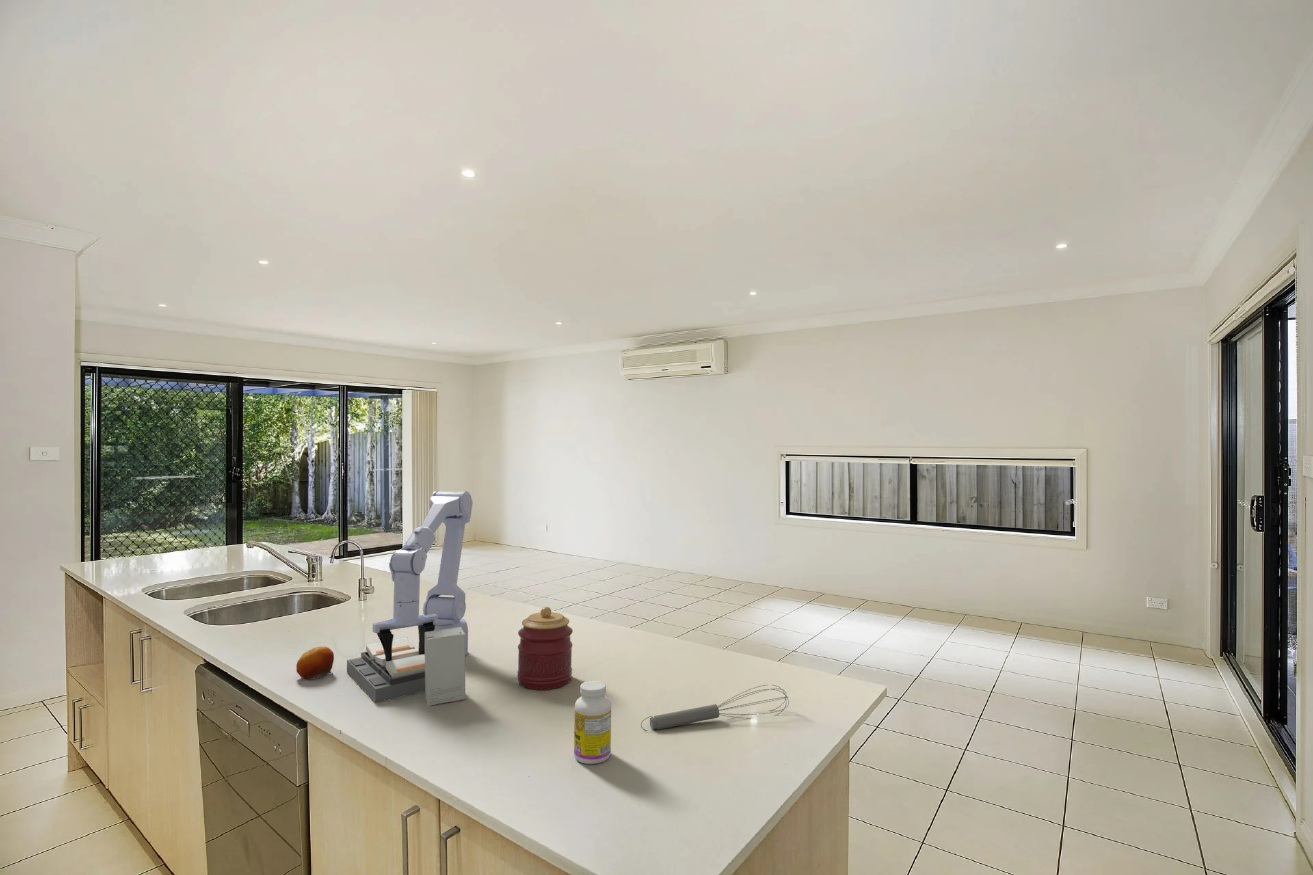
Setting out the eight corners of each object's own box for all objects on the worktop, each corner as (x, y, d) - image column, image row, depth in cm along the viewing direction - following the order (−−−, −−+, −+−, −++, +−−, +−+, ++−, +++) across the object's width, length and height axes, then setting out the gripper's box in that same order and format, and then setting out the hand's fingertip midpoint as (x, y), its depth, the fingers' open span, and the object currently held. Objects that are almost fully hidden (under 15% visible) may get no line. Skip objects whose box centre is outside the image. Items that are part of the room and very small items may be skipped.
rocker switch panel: (403, 655, 165) (404, 639, 165) (443, 686, 143) (443, 668, 143) (342, 667, 155) (343, 650, 155) (375, 702, 134) (375, 683, 134)
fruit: (324, 677, 144) (310, 646, 145) (299, 692, 146) (285, 662, 147) (348, 666, 152) (334, 637, 153) (324, 680, 153) (310, 651, 154)
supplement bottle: (574, 748, 114) (575, 678, 115) (610, 747, 115) (611, 677, 115) (572, 766, 108) (574, 692, 108) (610, 765, 108) (611, 691, 109)
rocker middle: (417, 653, 154) (417, 647, 154) (425, 656, 150) (425, 650, 150) (375, 662, 148) (375, 655, 148) (382, 665, 143) (382, 658, 144)
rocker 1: (406, 642, 160) (407, 636, 160) (414, 652, 156) (414, 646, 156) (365, 649, 154) (366, 643, 154) (372, 660, 150) (372, 654, 149)
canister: (582, 676, 151) (583, 604, 152) (551, 694, 140) (553, 616, 140) (538, 667, 157) (539, 598, 157) (505, 684, 145) (507, 609, 145)
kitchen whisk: (636, 725, 125) (637, 694, 125) (780, 707, 135) (780, 679, 135) (645, 738, 119) (645, 706, 119) (794, 718, 129) (794, 689, 129)
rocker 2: (429, 658, 148) (429, 652, 148) (437, 669, 144) (438, 663, 144) (385, 667, 142) (386, 660, 141) (392, 679, 137) (393, 672, 137)
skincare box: (461, 691, 141) (463, 625, 141) (465, 700, 136) (467, 632, 136) (422, 697, 137) (424, 630, 138) (425, 707, 132) (426, 637, 132)
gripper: (379, 607, 139) (378, 668, 138) (443, 599, 148) (441, 656, 148) (370, 602, 144) (368, 661, 144) (432, 594, 154) (430, 649, 153)
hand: (405, 658), depth 146 cm, fingers open, 7 cm apart
